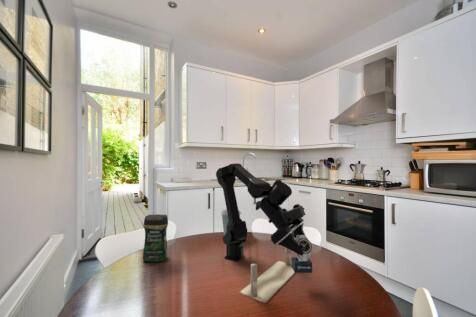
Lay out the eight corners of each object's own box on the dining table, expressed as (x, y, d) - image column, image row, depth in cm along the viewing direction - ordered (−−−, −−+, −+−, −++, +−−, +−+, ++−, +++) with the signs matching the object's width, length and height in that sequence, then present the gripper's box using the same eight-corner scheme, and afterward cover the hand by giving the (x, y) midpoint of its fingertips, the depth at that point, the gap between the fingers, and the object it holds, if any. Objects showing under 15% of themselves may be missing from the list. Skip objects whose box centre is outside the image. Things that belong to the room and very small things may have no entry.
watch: (296, 275, 72) (296, 239, 72) (290, 264, 80) (290, 232, 80) (314, 275, 72) (314, 240, 72) (306, 264, 80) (306, 232, 80)
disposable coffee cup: (222, 233, 133) (222, 207, 133) (240, 234, 133) (240, 207, 133) (220, 239, 122) (220, 211, 123) (240, 240, 122) (240, 211, 122)
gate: (239, 294, 72) (239, 262, 72) (278, 262, 95) (278, 238, 95) (265, 304, 67) (265, 270, 67) (300, 268, 90) (299, 243, 90)
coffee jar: (140, 263, 94) (140, 216, 94) (147, 255, 101) (147, 212, 102) (164, 262, 94) (165, 216, 94) (169, 255, 102) (169, 212, 102)
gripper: (280, 201, 70) (318, 244, 65) (298, 194, 86) (329, 228, 81) (256, 223, 74) (290, 266, 68) (277, 212, 90) (306, 246, 85)
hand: (306, 250), depth 75 cm, fingers closed on watch, 8 cm apart
